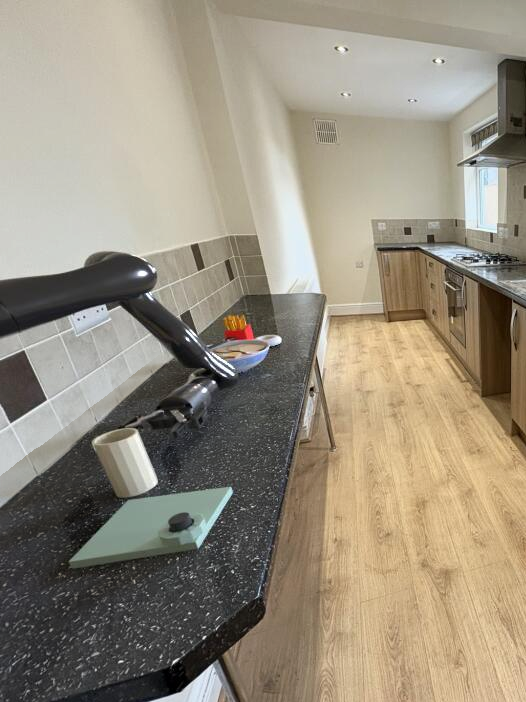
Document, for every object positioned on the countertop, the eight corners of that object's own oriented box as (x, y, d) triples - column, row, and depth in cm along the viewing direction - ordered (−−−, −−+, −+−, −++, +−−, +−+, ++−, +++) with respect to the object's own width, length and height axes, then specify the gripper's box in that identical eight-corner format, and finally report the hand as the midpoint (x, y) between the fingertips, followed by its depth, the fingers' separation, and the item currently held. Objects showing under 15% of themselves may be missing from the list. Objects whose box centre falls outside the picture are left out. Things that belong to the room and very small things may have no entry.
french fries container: (230, 359, 143) (218, 320, 138) (236, 352, 151) (225, 314, 145) (253, 357, 145) (242, 318, 140) (257, 350, 153) (248, 313, 148)
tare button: (168, 534, 61) (164, 525, 61) (176, 522, 64) (173, 513, 63) (187, 531, 62) (184, 522, 61) (195, 519, 64) (192, 510, 64)
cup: (108, 500, 73) (82, 447, 69) (128, 480, 78) (106, 430, 74) (147, 495, 74) (124, 442, 70) (164, 476, 80) (144, 426, 75)
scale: (70, 570, 58) (61, 554, 57) (130, 506, 71) (124, 492, 70) (199, 549, 62) (193, 534, 61) (234, 492, 75) (230, 478, 74)
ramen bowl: (245, 386, 121) (238, 360, 118) (170, 386, 121) (160, 360, 118) (290, 358, 144) (285, 336, 141) (226, 358, 144) (219, 336, 141)
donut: (254, 351, 152) (284, 346, 157) (251, 342, 150) (282, 338, 155) (252, 345, 159) (280, 340, 164) (249, 336, 158) (278, 332, 163)
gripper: (144, 392, 91) (94, 426, 77) (215, 386, 95) (181, 417, 80) (155, 422, 94) (110, 460, 80) (224, 415, 97) (193, 450, 83)
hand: (146, 438), depth 80 cm, fingers open, 8 cm apart
